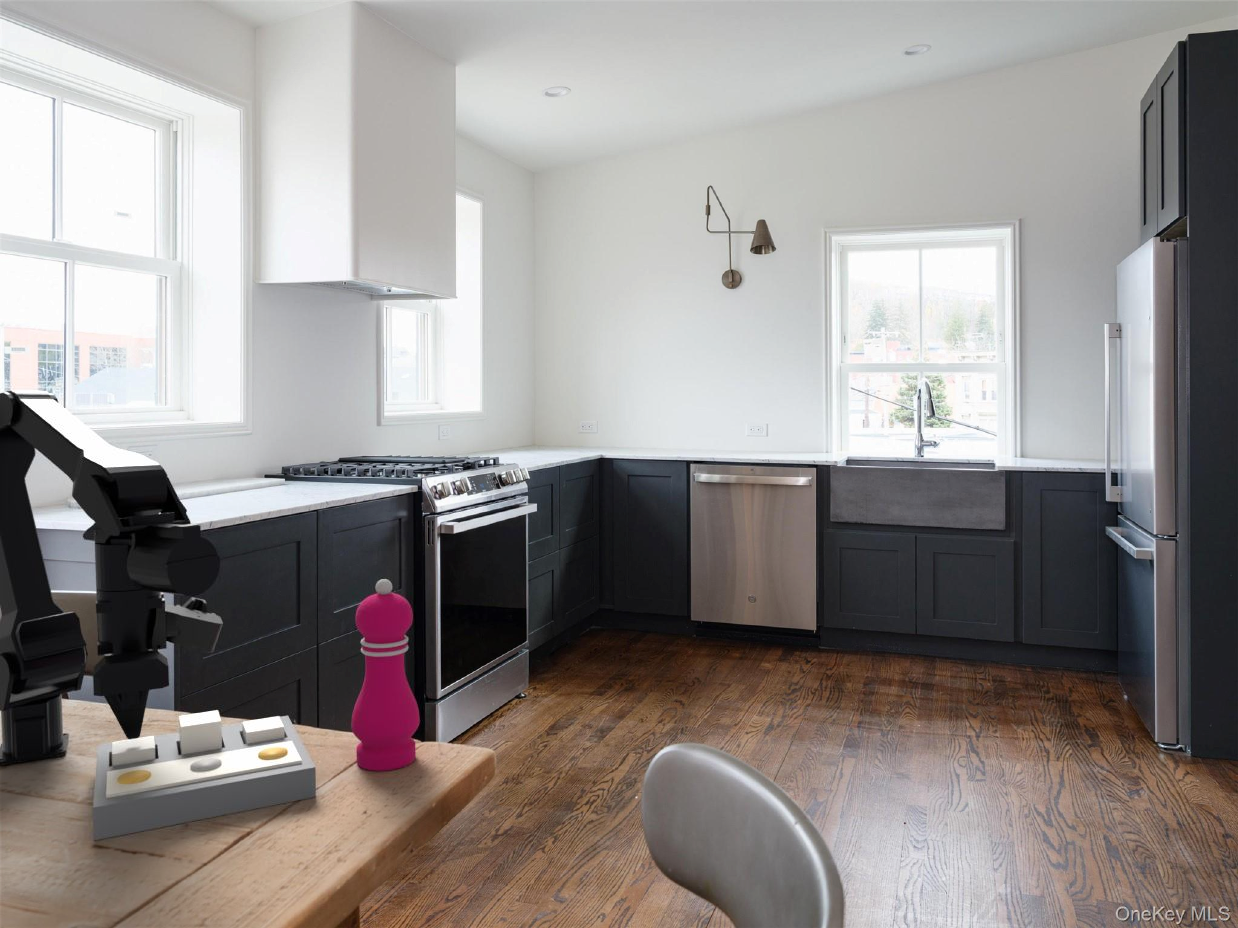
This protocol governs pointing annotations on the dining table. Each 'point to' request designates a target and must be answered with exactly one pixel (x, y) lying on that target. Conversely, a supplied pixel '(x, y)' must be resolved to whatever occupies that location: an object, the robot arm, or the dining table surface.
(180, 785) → the button panel
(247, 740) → the button
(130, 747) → the button
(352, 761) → the dining table surface
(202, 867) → the dining table surface
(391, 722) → the pepper mill
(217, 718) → the middle button
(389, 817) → the dining table surface
